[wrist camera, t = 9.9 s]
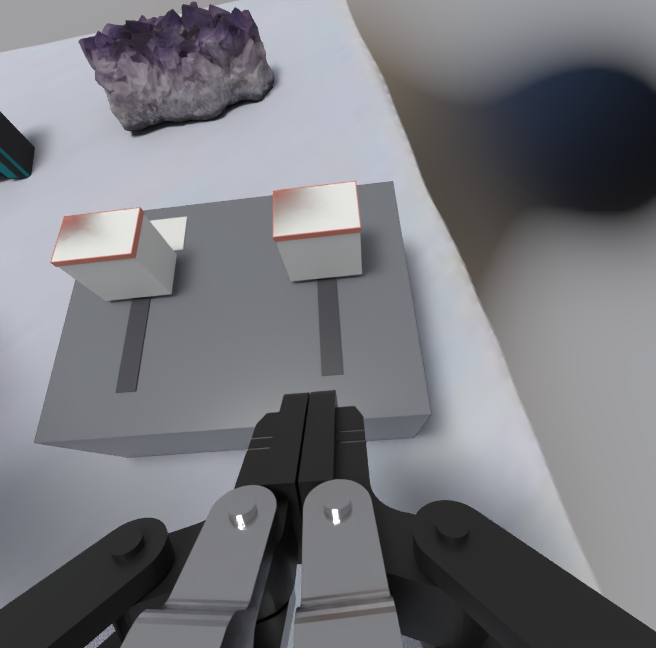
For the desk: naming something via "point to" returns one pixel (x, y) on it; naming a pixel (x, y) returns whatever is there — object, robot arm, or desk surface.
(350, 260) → the switch
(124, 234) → the switch
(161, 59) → the geode
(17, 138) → the surveillance camera
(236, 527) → the robot arm
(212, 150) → the desk surface
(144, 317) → the power box
